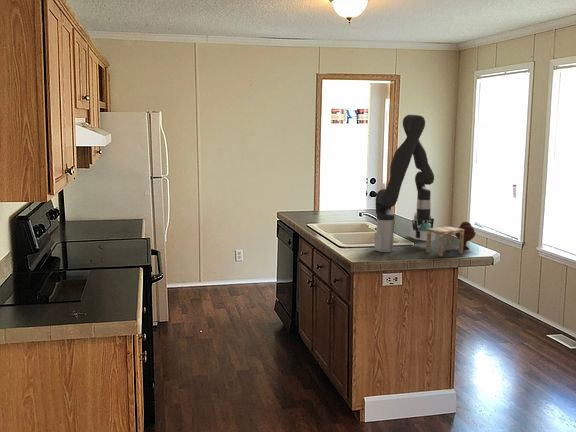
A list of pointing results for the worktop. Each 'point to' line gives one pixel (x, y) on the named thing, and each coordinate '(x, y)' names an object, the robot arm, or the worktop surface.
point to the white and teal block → (423, 232)
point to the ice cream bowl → (466, 233)
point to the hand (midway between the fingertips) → (422, 237)
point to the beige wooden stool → (443, 231)
